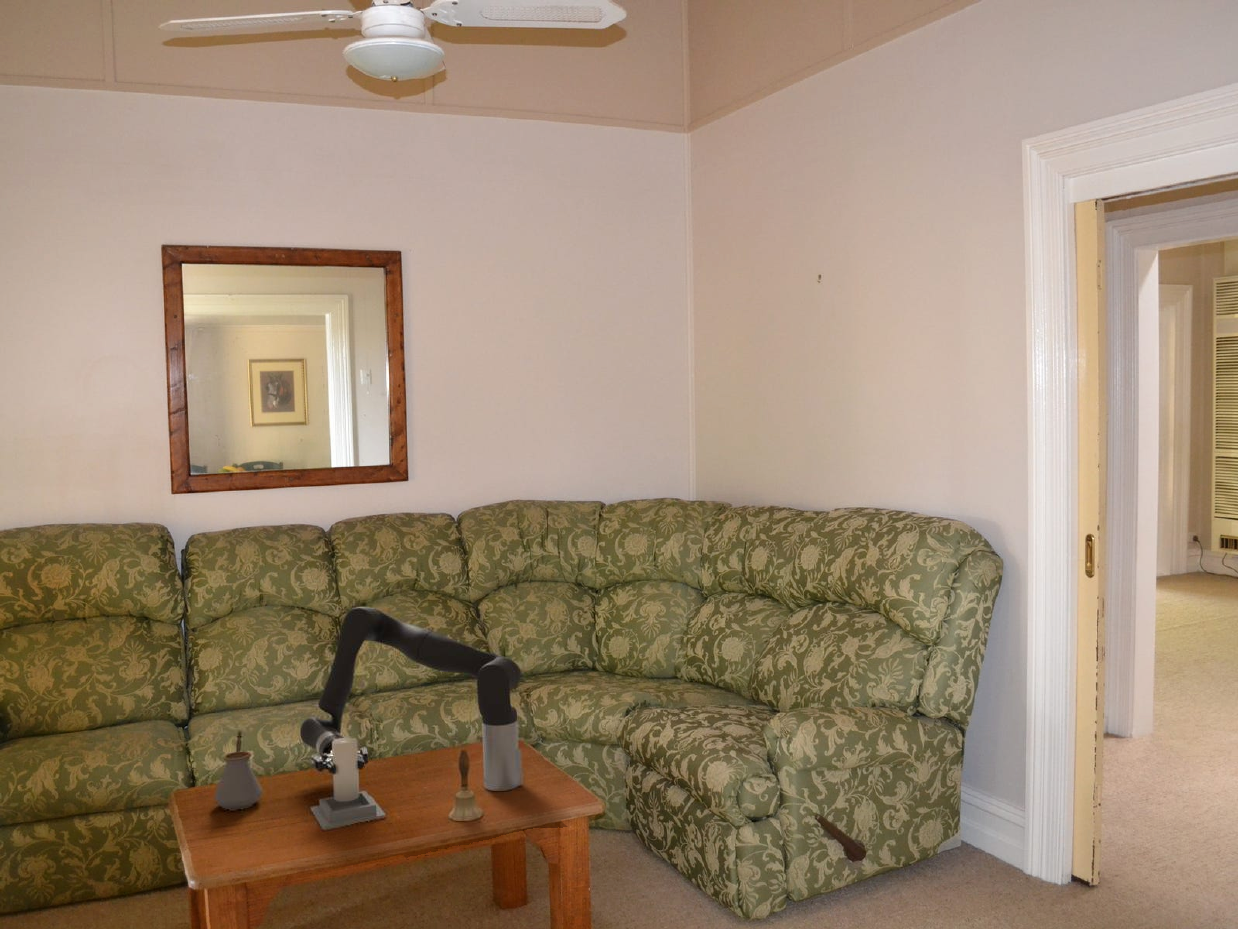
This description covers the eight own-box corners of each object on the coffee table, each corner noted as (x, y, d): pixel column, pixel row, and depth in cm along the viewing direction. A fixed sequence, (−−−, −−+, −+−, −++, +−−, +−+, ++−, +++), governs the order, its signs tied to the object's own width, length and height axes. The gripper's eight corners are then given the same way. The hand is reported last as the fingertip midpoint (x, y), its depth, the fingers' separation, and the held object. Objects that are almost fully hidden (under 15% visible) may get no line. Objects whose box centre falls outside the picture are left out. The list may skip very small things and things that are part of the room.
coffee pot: (261, 810, 264) (259, 751, 264) (212, 816, 261) (210, 756, 260) (265, 782, 285) (262, 727, 284) (219, 787, 282) (217, 732, 281)
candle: (356, 791, 264) (354, 736, 263) (361, 798, 258) (359, 742, 258) (331, 795, 261) (329, 740, 260) (336, 803, 256) (334, 746, 255)
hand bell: (444, 813, 259) (442, 749, 258) (477, 806, 262) (474, 743, 262) (454, 824, 251) (451, 758, 251) (487, 818, 255) (485, 753, 254)
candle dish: (370, 799, 270) (370, 787, 270) (385, 818, 256) (385, 805, 256) (311, 810, 263) (310, 798, 263) (323, 830, 250) (322, 818, 249)
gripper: (304, 739, 269) (317, 757, 254) (360, 730, 275) (376, 748, 260) (305, 768, 269) (318, 788, 254) (361, 758, 275) (377, 778, 260)
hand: (347, 768), depth 257 cm, fingers closed on candle, 6 cm apart
